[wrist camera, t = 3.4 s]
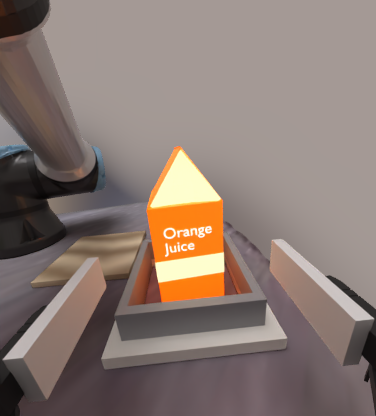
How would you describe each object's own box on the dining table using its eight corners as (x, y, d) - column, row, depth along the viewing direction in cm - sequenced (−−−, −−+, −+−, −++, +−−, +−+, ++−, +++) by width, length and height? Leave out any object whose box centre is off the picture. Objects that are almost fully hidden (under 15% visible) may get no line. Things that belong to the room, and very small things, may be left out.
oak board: (82, 240, 44) (81, 236, 44) (146, 234, 45) (145, 230, 44) (32, 287, 29) (30, 283, 29) (129, 278, 29) (128, 273, 29)
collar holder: (141, 259, 34) (137, 236, 33) (232, 250, 35) (232, 227, 33) (104, 369, 17) (91, 332, 15) (285, 348, 17) (291, 311, 16)
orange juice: (164, 322, 21) (135, 149, 15) (163, 274, 30) (144, 150, 23) (226, 311, 22) (223, 142, 16) (208, 267, 30) (202, 145, 24)
